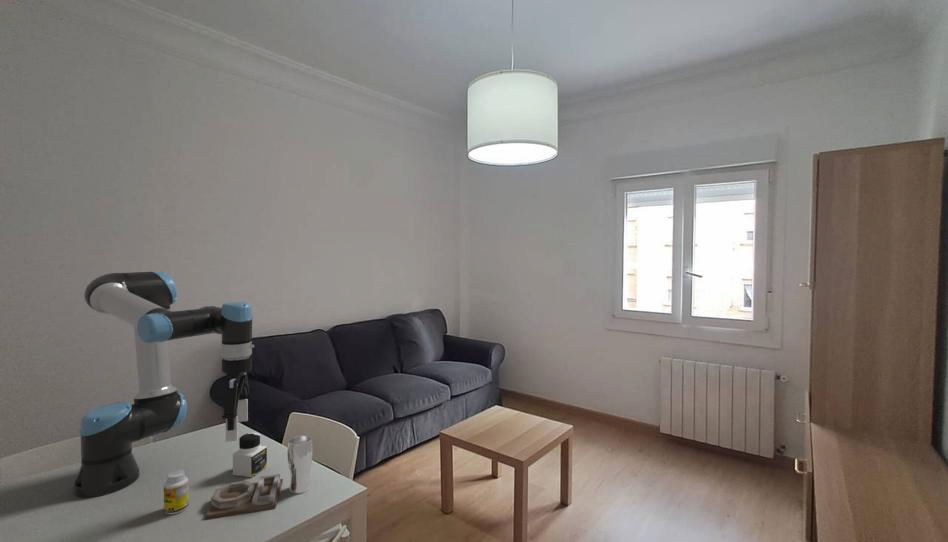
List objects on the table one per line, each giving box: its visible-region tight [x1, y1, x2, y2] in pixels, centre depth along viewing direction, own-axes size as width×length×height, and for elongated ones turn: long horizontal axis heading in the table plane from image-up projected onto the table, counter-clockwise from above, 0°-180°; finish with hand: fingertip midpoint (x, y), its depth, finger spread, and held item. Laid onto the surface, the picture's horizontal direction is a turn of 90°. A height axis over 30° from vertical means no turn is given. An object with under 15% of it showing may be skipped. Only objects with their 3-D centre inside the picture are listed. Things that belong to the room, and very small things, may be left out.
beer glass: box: [287, 434, 313, 495], centre depth 126 cm, size 7×7×15 cm
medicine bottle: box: [232, 432, 268, 478], centre depth 136 cm, size 7×7×12 cm
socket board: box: [205, 473, 284, 520], centre depth 120 cm, size 14×17×3 cm
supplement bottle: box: [163, 469, 190, 516], centre depth 115 cm, size 6×6×10 cm
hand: (237, 430), depth 119 cm, fingers open, 13 cm apart
